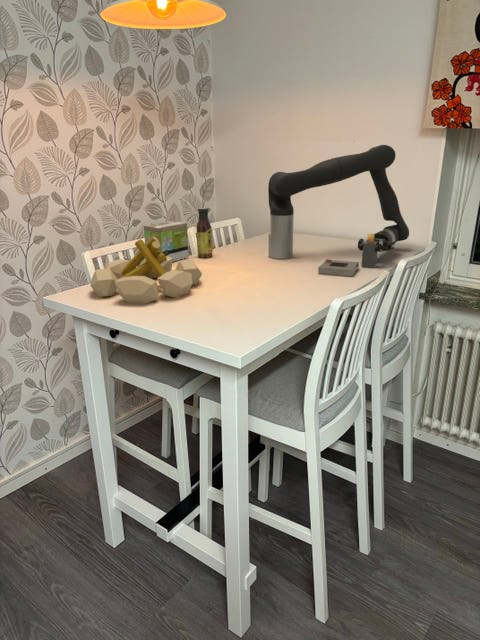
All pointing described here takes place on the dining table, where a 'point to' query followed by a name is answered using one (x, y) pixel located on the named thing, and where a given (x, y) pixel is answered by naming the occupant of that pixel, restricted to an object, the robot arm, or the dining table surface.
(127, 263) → the campfire
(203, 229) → the sauce bottle
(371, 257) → the plug
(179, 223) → the tea box
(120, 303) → the dining table surface
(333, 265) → the socket
